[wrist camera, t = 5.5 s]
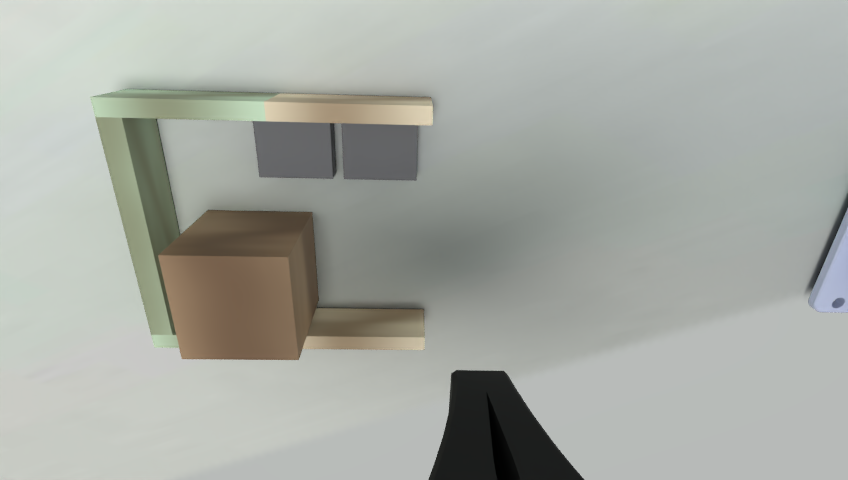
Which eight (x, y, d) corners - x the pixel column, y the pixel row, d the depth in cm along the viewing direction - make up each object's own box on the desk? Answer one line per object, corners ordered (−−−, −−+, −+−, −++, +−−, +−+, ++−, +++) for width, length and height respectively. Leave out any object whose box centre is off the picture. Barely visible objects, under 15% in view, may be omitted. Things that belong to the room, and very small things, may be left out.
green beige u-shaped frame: (430, 97, 16) (433, 105, 15) (423, 321, 20) (424, 349, 19) (126, 89, 16) (90, 97, 14) (177, 318, 20) (154, 347, 18)
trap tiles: (417, 120, 17) (417, 124, 16) (416, 174, 18) (416, 180, 17) (259, 116, 17) (252, 120, 16) (265, 171, 17) (259, 177, 17)
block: (312, 211, 18) (287, 257, 15) (319, 299, 20) (298, 359, 16) (208, 209, 18) (158, 255, 15) (223, 297, 20) (182, 358, 16)
